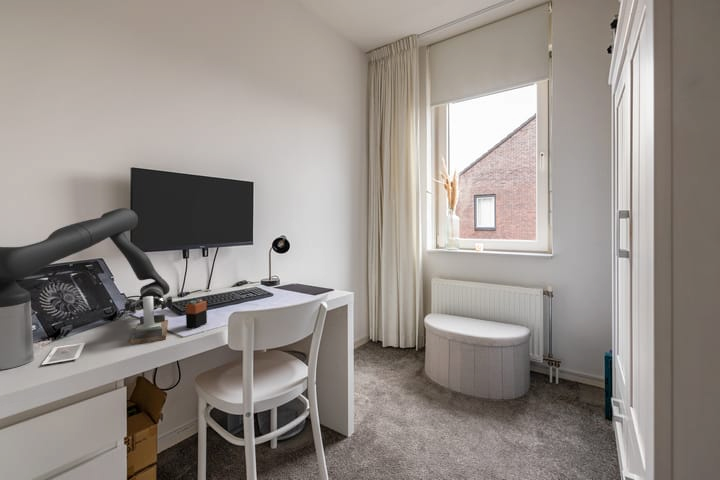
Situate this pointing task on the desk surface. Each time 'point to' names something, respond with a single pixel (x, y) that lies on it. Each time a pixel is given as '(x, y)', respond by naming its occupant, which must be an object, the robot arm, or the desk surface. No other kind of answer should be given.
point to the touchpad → (64, 353)
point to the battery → (196, 314)
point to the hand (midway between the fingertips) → (147, 308)
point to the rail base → (164, 331)
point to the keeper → (148, 314)
